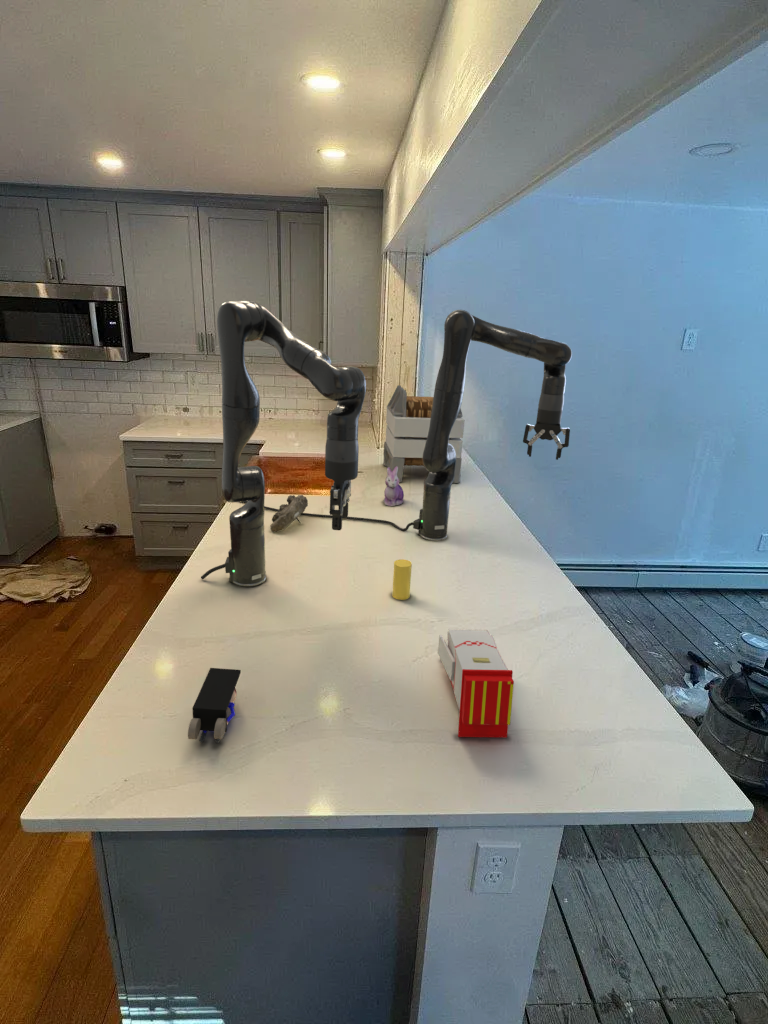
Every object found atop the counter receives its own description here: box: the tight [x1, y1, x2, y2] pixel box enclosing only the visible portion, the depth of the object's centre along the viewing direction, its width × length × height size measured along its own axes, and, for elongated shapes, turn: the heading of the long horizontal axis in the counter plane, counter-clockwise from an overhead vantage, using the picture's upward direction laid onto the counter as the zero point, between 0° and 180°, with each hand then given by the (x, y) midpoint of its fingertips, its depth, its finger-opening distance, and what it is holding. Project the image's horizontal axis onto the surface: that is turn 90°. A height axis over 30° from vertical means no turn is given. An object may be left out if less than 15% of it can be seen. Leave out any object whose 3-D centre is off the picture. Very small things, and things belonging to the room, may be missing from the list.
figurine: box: [383, 466, 405, 507], centre depth 229 cm, size 9×10×15 cm
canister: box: [391, 558, 413, 601], centre depth 155 cm, size 5×5×10 cm
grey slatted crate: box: [383, 384, 465, 484], centre depth 268 cm, size 34×33×41 cm
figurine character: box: [187, 667, 241, 744], centre depth 105 cm, size 7×8×15 cm
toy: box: [437, 628, 515, 738], centre depth 117 cm, size 12×13×30 cm
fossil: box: [270, 494, 309, 533], centre depth 203 cm, size 22×10×15 cm
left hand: (340, 523), depth 134 cm, fingers open, 8 cm apart
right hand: (543, 457), depth 185 cm, fingers open, 8 cm apart
